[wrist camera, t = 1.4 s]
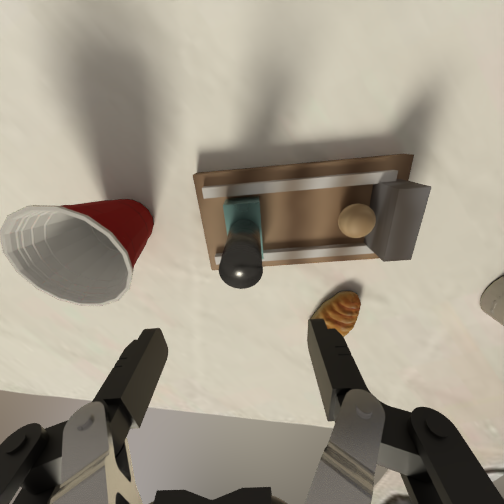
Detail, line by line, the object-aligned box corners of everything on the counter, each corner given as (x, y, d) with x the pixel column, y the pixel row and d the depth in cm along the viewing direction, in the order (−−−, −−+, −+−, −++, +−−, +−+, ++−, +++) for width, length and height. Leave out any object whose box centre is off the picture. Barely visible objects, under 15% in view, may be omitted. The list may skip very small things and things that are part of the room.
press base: (402, 153, 26) (451, 157, 19) (382, 250, 32) (414, 277, 25) (196, 172, 27) (179, 182, 21) (214, 263, 33) (204, 291, 26)
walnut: (368, 198, 26) (386, 207, 23) (363, 229, 28) (379, 242, 24) (334, 201, 26) (347, 210, 23) (332, 231, 28) (343, 244, 25)
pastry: (331, 282, 34) (340, 297, 31) (367, 294, 35) (379, 310, 32) (304, 322, 38) (309, 340, 35) (337, 332, 39) (345, 350, 36)
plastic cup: (114, 260, 33) (47, 318, 22) (76, 188, 28) (-35, 217, 17) (183, 249, 32) (147, 304, 21) (156, 173, 27) (92, 193, 16)
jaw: (259, 195, 26) (262, 228, 16) (262, 248, 29) (267, 302, 19) (225, 198, 26) (209, 232, 16) (233, 250, 29) (222, 305, 19)
